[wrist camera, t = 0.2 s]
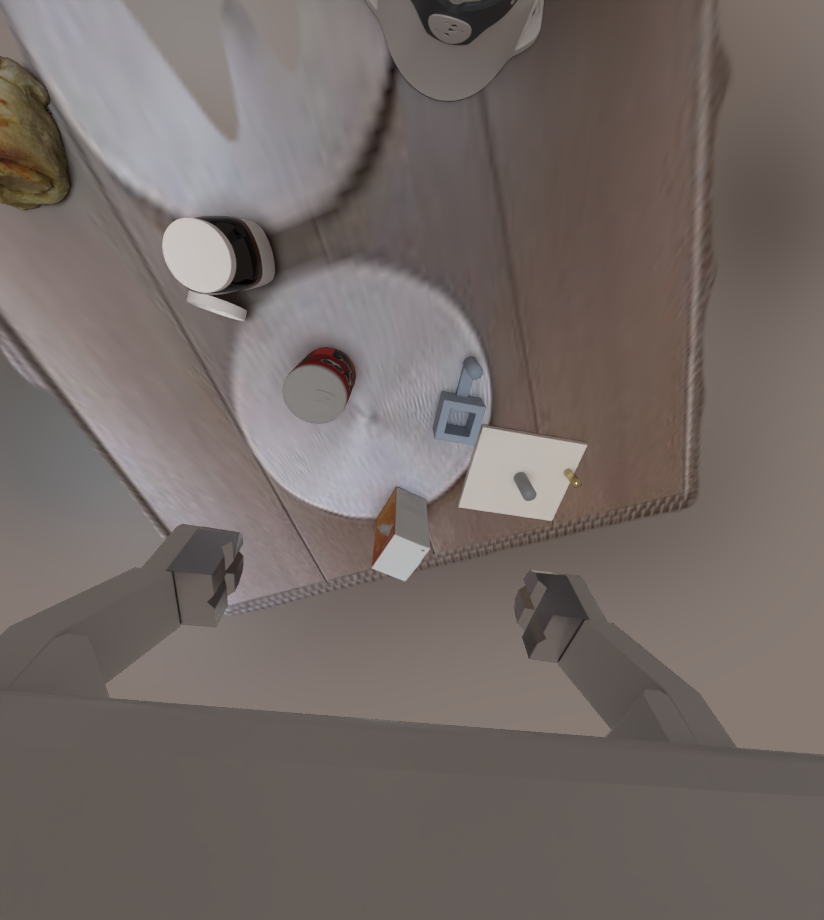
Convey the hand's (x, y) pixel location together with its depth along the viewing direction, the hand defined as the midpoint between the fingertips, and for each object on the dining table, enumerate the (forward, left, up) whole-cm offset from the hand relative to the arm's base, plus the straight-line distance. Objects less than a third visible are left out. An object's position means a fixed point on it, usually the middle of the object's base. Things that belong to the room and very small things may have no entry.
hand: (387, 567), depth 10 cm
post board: (+21, +25, -47) cm, 58 cm away
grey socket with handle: (+9, +11, -47) cm, 50 cm away
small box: (+32, +6, -48) cm, 58 cm away
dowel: (+19, +33, -46) cm, 60 cm away
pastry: (-11, -46, -48) cm, 67 cm away
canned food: (+9, -9, -48) cm, 49 cm away
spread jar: (-2, -22, -48) cm, 53 cm away
